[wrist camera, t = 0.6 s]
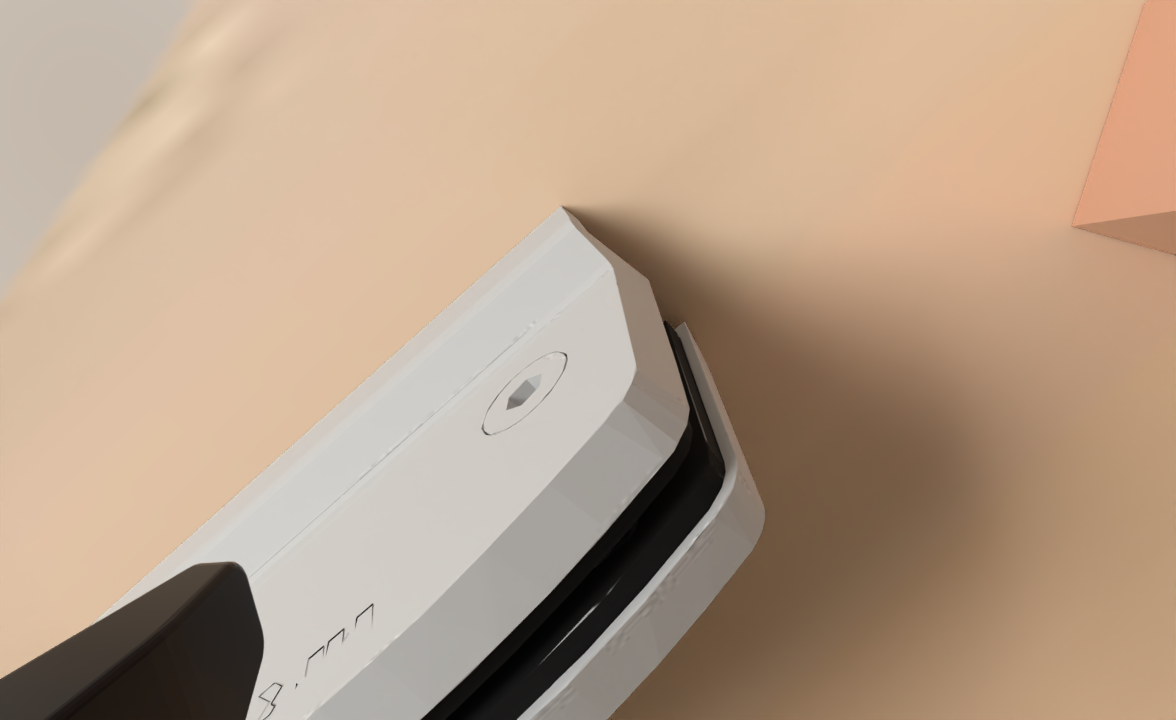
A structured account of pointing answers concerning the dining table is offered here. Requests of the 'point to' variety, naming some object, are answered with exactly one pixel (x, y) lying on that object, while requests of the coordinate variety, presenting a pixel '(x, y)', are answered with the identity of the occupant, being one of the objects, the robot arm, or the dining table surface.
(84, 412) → the dining table surface
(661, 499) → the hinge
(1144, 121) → the terracotta sleeve
